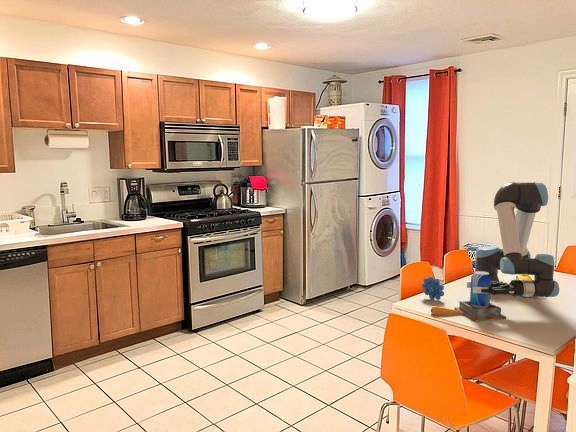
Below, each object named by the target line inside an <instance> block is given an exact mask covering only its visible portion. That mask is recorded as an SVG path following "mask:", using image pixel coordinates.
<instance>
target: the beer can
mask: <svg viewBox="0 0 576 432" xmlns="http://www.w3.org/2000/svg"><path fill="white" fill-rule="evenodd" d="M470 278H471V279H470V282H471V288H470V295H469V296H470V297H469V298H470V299H469V301H470V303H471V305H472V306H473V307H475V308H480V309H484V308H488V306H489V305H490V303H491V294H489V293H473V287H488V289H489V286H490V287H491V277H490V275H489V273H488V272H485V271H475V270H474V271H473V273H472V275H471V277H470Z"/></svg>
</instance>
